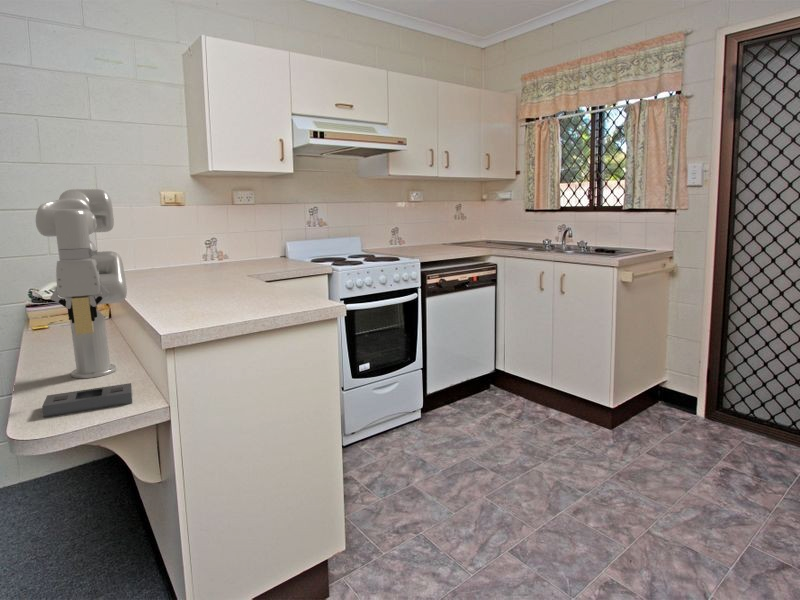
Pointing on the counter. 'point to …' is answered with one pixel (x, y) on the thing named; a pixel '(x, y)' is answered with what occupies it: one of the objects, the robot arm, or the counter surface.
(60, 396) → the grey peg hole board
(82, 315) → the brass peg
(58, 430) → the counter surface
